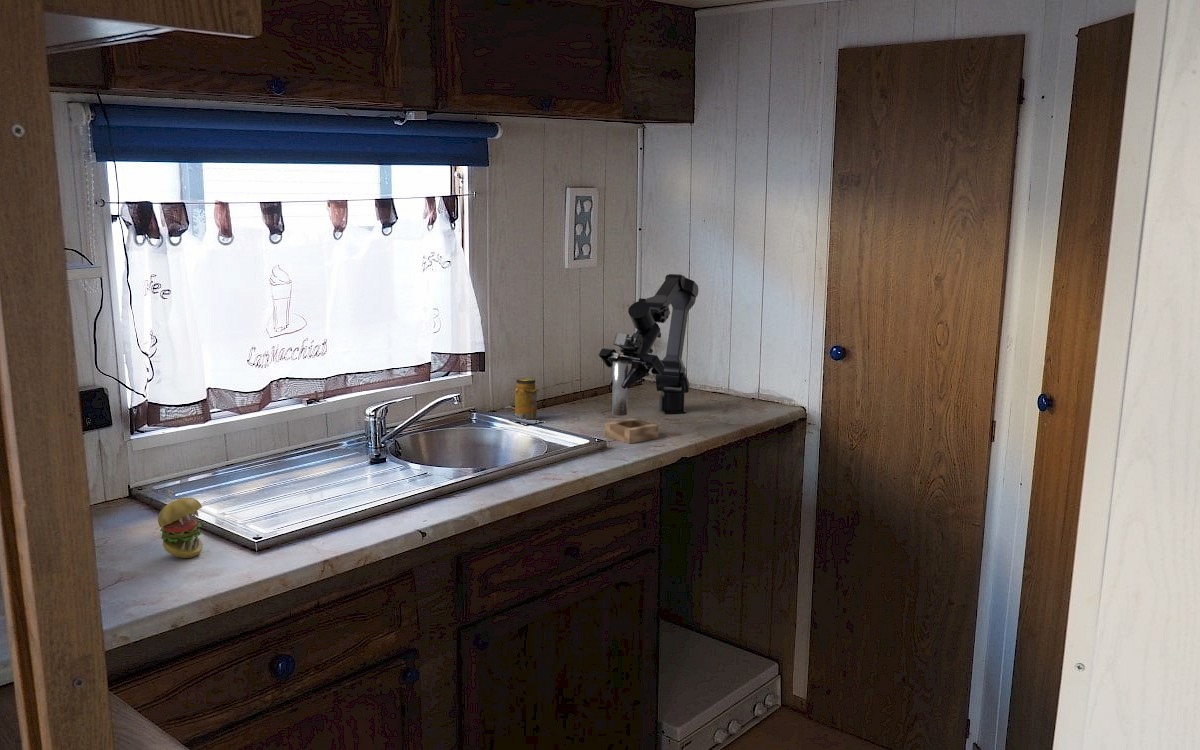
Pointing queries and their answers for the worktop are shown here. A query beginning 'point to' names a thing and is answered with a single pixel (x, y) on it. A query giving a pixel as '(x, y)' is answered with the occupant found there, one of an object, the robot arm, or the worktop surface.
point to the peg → (619, 388)
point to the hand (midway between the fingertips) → (616, 386)
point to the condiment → (526, 399)
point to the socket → (631, 430)
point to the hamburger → (181, 527)
